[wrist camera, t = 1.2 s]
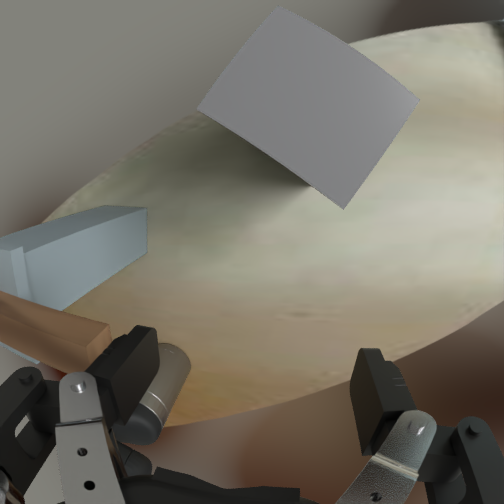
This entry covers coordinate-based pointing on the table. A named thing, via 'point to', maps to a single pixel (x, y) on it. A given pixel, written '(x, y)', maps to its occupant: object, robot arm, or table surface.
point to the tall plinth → (70, 255)
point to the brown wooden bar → (51, 334)
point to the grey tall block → (310, 104)
